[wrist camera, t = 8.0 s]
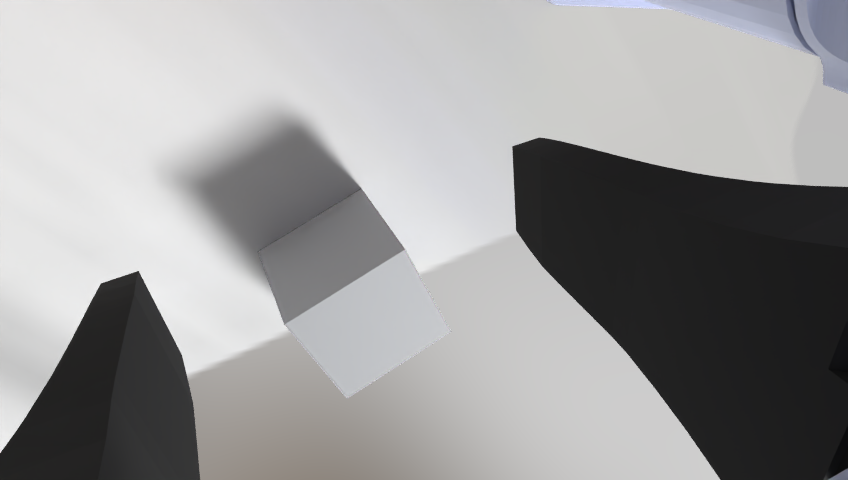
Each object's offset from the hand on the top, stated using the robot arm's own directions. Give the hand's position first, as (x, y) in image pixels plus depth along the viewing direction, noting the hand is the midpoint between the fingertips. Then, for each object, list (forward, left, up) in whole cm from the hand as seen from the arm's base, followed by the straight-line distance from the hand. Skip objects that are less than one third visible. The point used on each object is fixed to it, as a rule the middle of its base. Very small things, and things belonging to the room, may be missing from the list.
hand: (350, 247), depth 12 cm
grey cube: (-3, +7, -10) cm, 13 cm away
